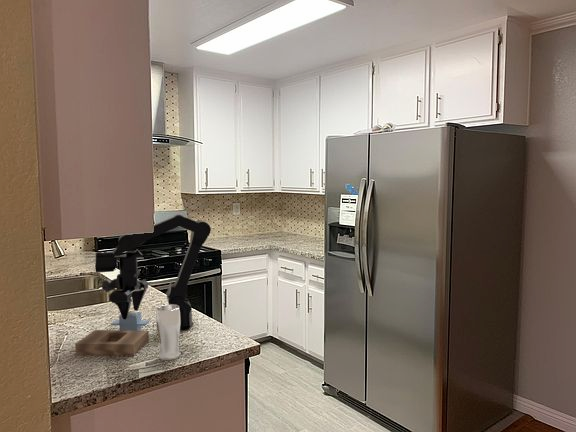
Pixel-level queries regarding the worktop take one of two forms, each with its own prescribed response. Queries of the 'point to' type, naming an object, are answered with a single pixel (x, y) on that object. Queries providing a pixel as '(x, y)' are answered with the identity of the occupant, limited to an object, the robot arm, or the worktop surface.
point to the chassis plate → (112, 342)
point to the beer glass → (168, 331)
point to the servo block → (131, 322)
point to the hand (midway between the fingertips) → (130, 314)
